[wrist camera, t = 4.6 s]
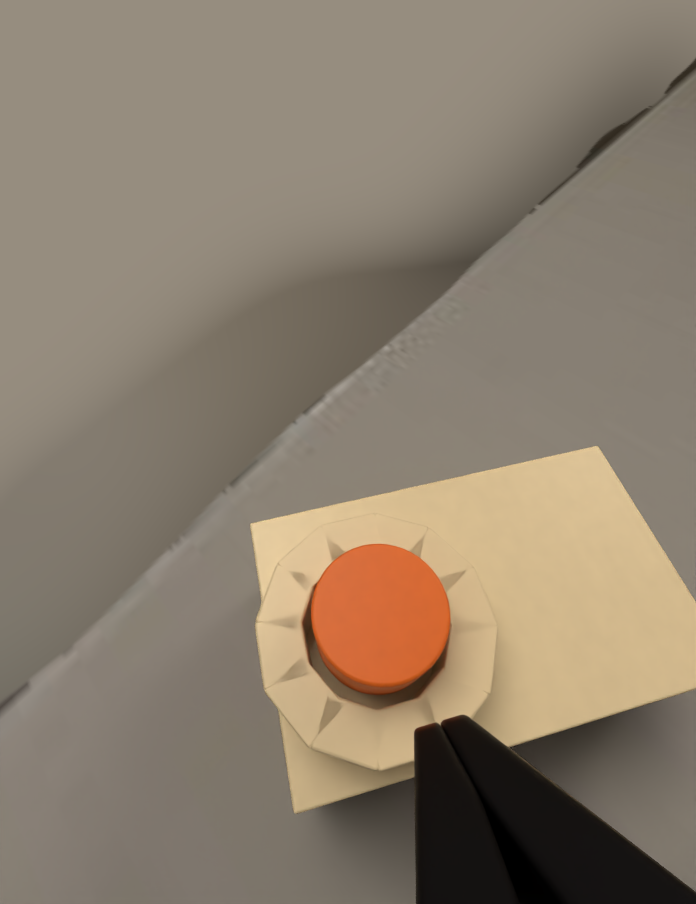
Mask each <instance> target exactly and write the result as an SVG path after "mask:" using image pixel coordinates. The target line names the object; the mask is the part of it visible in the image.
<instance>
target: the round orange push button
mask: <svg viewBox="0 0 696 904" xmlns="http://www.w3.org/2000/svg"><path fill="white" fill-rule="evenodd" d="M311 622H312V629H313V632H314V636H315V640H316V643H317V647H318V651H319V653H320V656H321V658H322V660H323V662H324V664H325V665H326V667H327V668H328V670H329V671H330V672H331V673H332V674H333V675H334V676H335V678H336V679H337V680H339V681H340V682H341V683H343V684H344V685H346V686H347V687H349V688H351V689H353V690H355V691H358V692H361V693H365V694H370V695H386V694H391V693H395V692H397V691H400V690H402V689H404V688H406V687H408V686H409V685H411V684H412V683H413V682H415V681H416V680H417V679H419V678H420V677H421V676H422V675H424V674H425V673H426V672H427V671H428V670H429V669H430V668H431V667H432V666H433V665H434V664H435V663H436V661H437V660H438V659H439V657H440V655H441V654H442V652H443V650H444V648H445V645H446V642H447V640H448V636H449V631H450V622H451V618H450V607H449V601H448V598H447V594H446V592H445V589H444V587H443V585H442V583H441V581H440V579H439V578H438V576H437V575H436V573H435V572H434V571H433V569H432V568H431V567H430V566H429V565H428V564H427V563H426V562H424V561H423V560H422V559H421V558H420V557H418V556H417V555H415V554H413V553H412V552H410V551H408V550H406V549H403V548H400V547H397V546H393V545H388V544H368V545H362V546H359V547H356V548H353V549H351V550H349V551H347V552H345V553H343V554H342V555H340V556H339V557H338V558H336V559H335V560H334V561H333V562H332V563H331V564H330V565H329V566H328V567H327V568H326V570H325V571H324V572H323V574H322V575H321V577H320V579H319V581H318V583H317V585H316V588H315V590H314V594H313V598H312V604H311Z"/></svg>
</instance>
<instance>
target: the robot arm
mask: <svg viewBox="0 0 696 904" xmlns="http://www.w3.org/2000/svg"><path fill="white" fill-rule="evenodd" d="M414 782H415V855H416V904H696V892H695V891H694V890H692V889H691V888H690V887H689V886H687V885H686V884H685V883H683V882H682V881H681V880H680V879H678V878H677V877H676V876H674V875H673V874H672V873H670V872H669V871H668V870H667V869H665V868H664V867H663V866H661V865H660V864H659V863H658V862H656V861H655V860H654V859H652V858H651V857H650V856H648V855H647V854H646V853H645V852H643V851H642V850H641V849H639V848H638V847H637V846H636V845H634V844H633V843H632V842H630V841H629V840H628V839H626V838H625V837H624V836H623V835H621V834H620V833H619V832H617V831H616V830H615V829H614V828H612V827H611V826H610V825H608V824H607V823H606V822H604V821H603V820H602V819H601V818H599V817H598V816H597V815H595V814H594V813H593V812H592V811H590V810H589V809H588V808H586V807H585V806H584V805H582V804H581V803H580V802H579V801H577V800H576V799H575V798H573V797H572V796H571V795H570V794H568V793H567V792H566V791H564V790H563V789H562V788H560V787H559V786H558V785H557V784H555V783H554V782H553V781H551V780H550V779H549V778H548V777H546V776H545V775H544V774H542V773H541V772H540V771H538V770H537V769H536V768H535V767H533V766H532V765H531V764H529V763H528V762H527V761H526V760H524V759H523V758H522V757H520V756H519V755H518V754H516V753H515V752H514V751H513V750H511V749H510V748H509V747H507V746H506V745H505V744H504V743H502V742H501V741H500V740H498V739H497V738H496V737H494V736H493V735H492V734H491V733H489V732H488V731H487V730H485V729H484V728H483V727H482V726H480V725H479V724H478V723H476V722H475V721H474V720H472V719H471V718H470V717H468V716H467V715H458V716H455V717H451V718H448V719H445V720H443V721H442V722H441V724H439V723H437V722H435V723H431V724H428V725H425V726H421V727H418V728H416V729H415V731H414Z"/></svg>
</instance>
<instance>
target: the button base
mask: <svg viewBox="0 0 696 904" xmlns="http://www.w3.org/2000/svg"><path fill="white" fill-rule="evenodd" d="M250 528H251V535H252V541H253V548H254V554H255V561H256V568H257V574H258V581H259V587H260V594H261V601H262V604H261V607H260V609H259V612H258V615H257V617H256V623H255V631H256V638H257V645H258V652H259V659H260V666H261V673H262V680H263V687H264V689H265V693H266V694H267V696H268V697H269V698H270V700H271V701H272V702H273V703H274V705H275V706H276V707H277V709H278V713H279V719H280V726H281V732H282V739H283V746H284V752H285V759H286V765H287V772H288V779H289V785H290V792H291V798H292V805H293V811H294V813H295V814H298V813H301V812H305V811H308V810H311V809H314V808H317V807H321V806H324V805H327V804H330V803H333V802H337V801H340V800H343V799H346V798H349V797H353V796H356V795H359V794H362V793H365V792H369V791H372V790H375V789H378V788H381V787H385V786H388V785H391V784H394V783H397V782H400V781H404V780H407V779H410V778H413V777H414V731H415V729H416V728H418V727H421V726H425V725H428V724H431V723H435V722H437V723H439V724H441V722H442V721H443V720H445V719H448V718H451V717H455V716H458V715H467V716H468V717H470V718H471V719H472V720H474V721H475V722H476V723H478V724H479V725H480V726H482V727H483V728H484V729H485V730H487V731H488V732H489V733H491V734H492V735H493V736H494V737H496V738H497V739H498V740H500V741H501V742H502V743H504V744H505V745H506V746H507V747H512V746H515V745H519V744H522V743H525V742H528V741H531V740H535V739H538V738H541V737H544V736H547V735H551V734H554V733H557V732H560V731H563V730H567V729H570V728H573V727H576V726H579V725H583V724H586V723H589V722H592V721H595V720H599V719H602V718H605V717H608V716H611V715H614V714H618V713H621V712H624V711H627V710H630V709H634V708H637V707H640V706H643V705H646V704H650V703H653V702H656V701H659V700H662V699H666V698H669V697H672V696H675V695H678V694H682V693H685V692H688V691H691V690H694V689H696V602H695V600H694V598H693V597H692V595H691V594H690V592H689V590H688V589H687V587H686V586H685V584H684V582H683V581H682V579H681V578H680V576H679V574H678V573H677V571H676V570H675V568H674V567H673V565H672V563H671V562H670V560H669V559H668V557H667V555H666V554H665V552H664V551H663V549H662V547H661V546H660V544H659V543H658V541H657V539H656V538H655V536H654V535H653V533H652V531H651V530H650V528H649V527H648V525H647V524H646V522H645V520H644V519H643V517H642V516H641V514H640V512H639V511H638V509H637V508H636V506H635V504H634V503H633V501H632V500H631V498H630V496H629V495H628V493H627V492H626V490H625V488H624V487H623V485H622V484H621V482H620V480H619V479H618V477H617V476H616V474H615V473H614V471H613V469H612V468H611V466H610V465H609V463H608V461H607V460H606V458H605V457H604V455H603V453H602V452H601V450H600V449H599V447H598V446H594V447H590V448H586V449H581V450H577V451H572V452H568V453H563V454H559V455H554V456H550V457H545V458H541V459H536V460H532V461H528V462H523V463H519V464H514V465H510V466H505V467H501V468H496V469H492V470H487V471H483V472H478V473H474V474H469V475H465V476H461V477H456V478H452V479H447V480H443V481H438V482H434V483H429V484H425V485H420V486H416V487H411V488H407V489H403V490H398V491H394V492H389V493H385V494H380V495H376V496H371V497H367V498H362V499H358V500H353V501H349V502H344V503H340V504H336V505H331V506H327V507H322V508H318V509H313V510H309V511H304V512H300V513H295V514H291V515H286V516H282V517H278V518H273V519H269V520H264V521H260V522H255V523H251V525H250ZM368 544H388V545H393V546H397V547H400V548H403V549H406V550H408V551H410V552H412V553H413V554H415V555H417V556H418V557H420V558H421V559H422V560H423V561H424V562H426V563H427V564H428V565H429V566H430V567H431V568H432V569H433V571H434V572H435V573H436V575H437V576H438V578H439V579H440V581H441V583H442V585H443V587H444V589H445V592H446V594H447V598H448V601H449V607H450V618H451V622H450V631H449V636H448V640H447V642H446V645H445V648H444V650H443V652H442V654H441V655H440V657H439V659H438V660H437V661H436V663H435V664H434V665H433V666H432V667H431V668H430V669H429V670H428V671H427V672H426V673H425V674H424V675H422V676H421V677H420V678H419V679H417V680H416V681H415V682H413V683H412V684H411V685H409V686H408V687H406V688H404V689H402V690H400V691H397V692H395V693H391V694H386V695H370V694H365V693H361V692H358V691H355V690H353V689H351V688H349V687H347V686H346V685H344V684H343V683H341V682H340V681H339V680H337V679H336V678H335V676H334V675H333V674H332V673H331V672H330V671H329V670H328V668H327V667H326V665H325V664H324V662H323V660H322V658H321V656H320V653H319V651H318V647H317V643H316V640H315V636H314V632H313V629H312V622H311V604H312V598H313V594H314V590H315V588H316V585H317V583H318V581H319V579H320V577H321V575H322V574H323V572H324V571H325V570H326V568H327V567H328V566H329V565H330V564H331V563H332V562H333V561H334V560H335V559H336V558H338V557H339V556H340V555H342V554H343V553H345V552H347V551H349V550H351V549H353V548H356V547H359V546H362V545H368Z"/></svg>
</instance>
